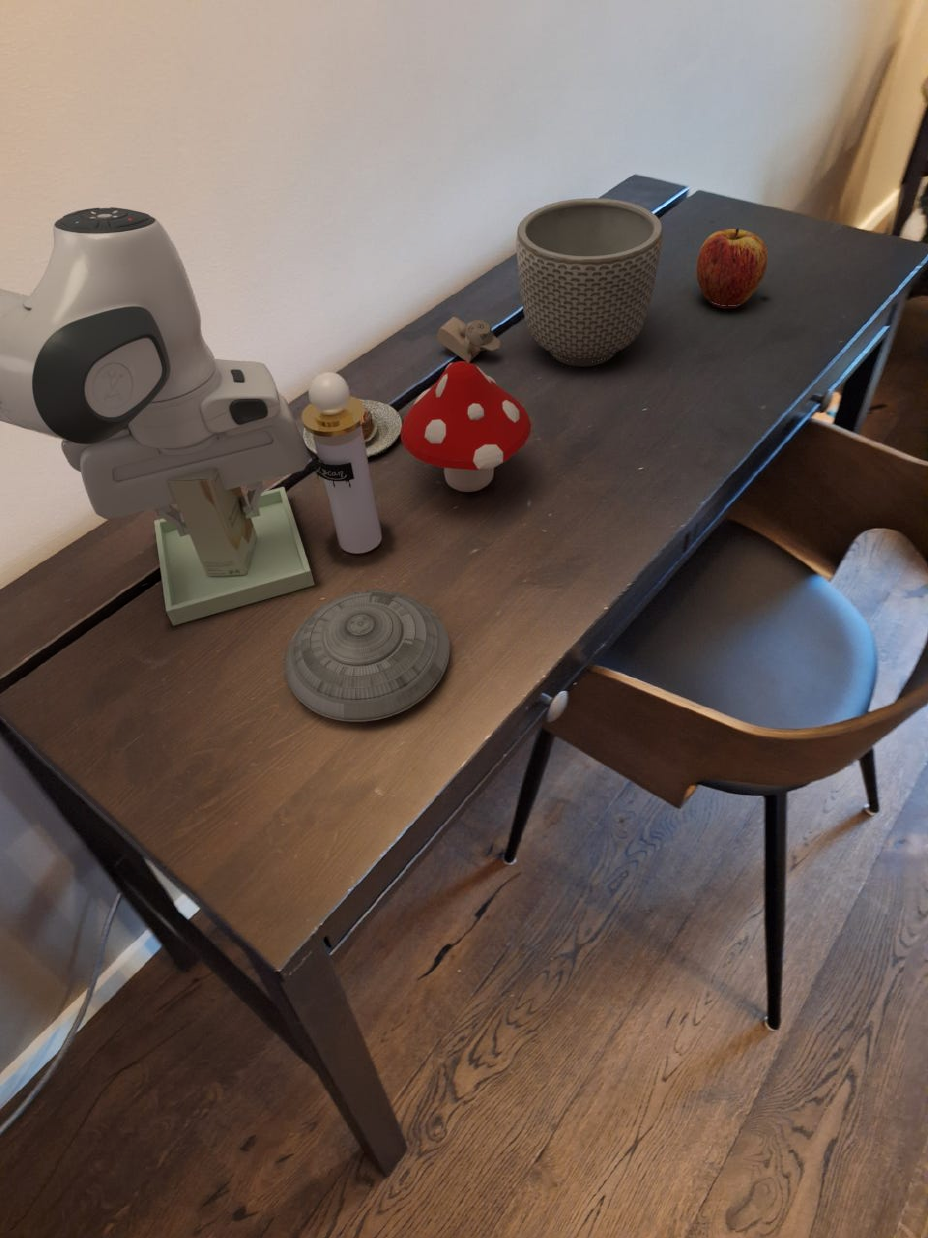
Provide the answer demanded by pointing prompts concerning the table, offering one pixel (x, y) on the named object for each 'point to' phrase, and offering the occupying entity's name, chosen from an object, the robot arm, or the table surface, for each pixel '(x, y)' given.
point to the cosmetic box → (215, 522)
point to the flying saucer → (367, 656)
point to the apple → (731, 266)
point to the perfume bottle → (343, 461)
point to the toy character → (467, 337)
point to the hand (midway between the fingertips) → (220, 522)
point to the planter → (587, 276)
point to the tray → (268, 575)
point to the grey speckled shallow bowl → (373, 428)
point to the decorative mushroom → (465, 426)
